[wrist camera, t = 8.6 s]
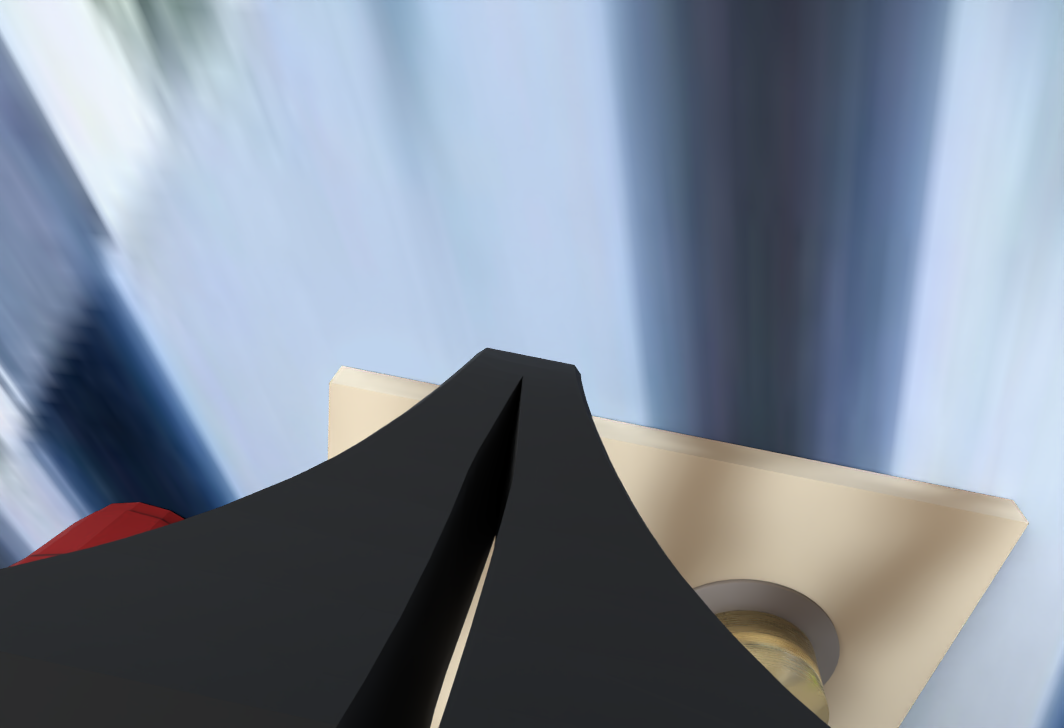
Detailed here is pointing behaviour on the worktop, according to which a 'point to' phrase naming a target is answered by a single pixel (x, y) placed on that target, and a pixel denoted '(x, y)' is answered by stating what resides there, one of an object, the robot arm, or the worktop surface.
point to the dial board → (782, 545)
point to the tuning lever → (781, 654)
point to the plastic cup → (105, 528)
